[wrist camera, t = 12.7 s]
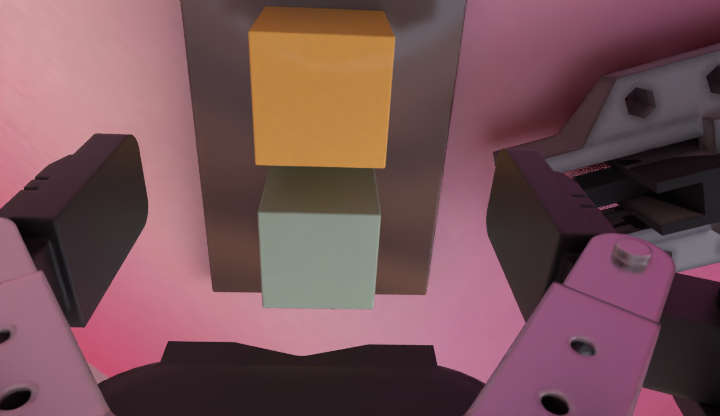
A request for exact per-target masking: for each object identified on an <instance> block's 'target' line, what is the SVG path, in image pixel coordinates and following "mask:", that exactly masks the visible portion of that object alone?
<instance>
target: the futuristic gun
mask: <svg viewBox="0 0 720 416" xmlns="http://www.w3.org/2000/svg"><path fill="white" fill-rule="evenodd" d="M627 96H628V100H627V101H625V98H626V97H627ZM507 149H529V150H537V151H538V152H539V153H540V154H541V155H542V157H543V158H544V159H545V161H546V162H547V163H548V164H549V166H550V167H551V168H552V170H553V171H556V172H560V173H563V172H567V171H570V170H574V169H578V168H582V167H586V166H589V165H593V164H597V163H601V162H604V163H606V164H608V165H609V166H611V167H610V168H606V169H602V170H598V171H594V172H590V173H587V174H583V175H579V176H575V177H574V178H573V179H572V180H573V181H575V182H577V183H578V185H579V186H580V187H581V188H582V189H583V191H584V192H585V193H586V194H587V198H590V199H591V200H592V202H593V203H594V204H595V205H596V208H597V207H601V206H605V205H609V204H613V203H617V204H619V205H620V206H616V207H613V208H609V209H605V210H601V213H602V214H603V215H604V216H605V218H606V219H607V220H608V221H609V222H610V224H611V225H612V226H613V227H614V229H615V230H616V231H617V232H618V233H619V234H625V235H630V236H634V237H637V238H640V239H643V240H646V241H648V242H650V243H652V244H654V245H656V246H658V247H660V248H661V249H662V250H664V251H665V252H666V253H667V254H669V255H670V257H671V258H672V259H673V260H674V262H675V265H676V272H675V273H677V272H681V271H685V270H689V269H693V268H698V267H702V266H706V265H710V264H714V263H719V262H720V43H717V44H714V45H710V46H706V47H703V48H699V49H696V50H692V51H689V52H685V53H681V54H678V55H674V56H671V57H667V58H664V59H660V60H656V61H653V62H649V63H646V64H642V65H639V66H635V67H631V68H628V69H624V70H621V71H617V72H614V73H610V74H606V75H603V76H601V77H600V79H599V80H598V81H597V83H596V84H595V85H594V87H593V88H592V89H591V91H590V92H589V93H588V95H587V96H586V97H585V99H584V100H583V101H582V103H581V104H580V105H579V107H578V108H577V109H576V111H575V112H574V114H573V115H572V116H571V118H570V119H569V120H568V122H567V123H566V124H565V126H564V127H563V128H562V130H561V131H560V132H559V134H558V135H555V136H551V137H547V138H544V139H540V140H536V141H532V142H529V143H525V144H521V145H518V146H514V147H510V148H507ZM500 151H501V150H499V151H496V152H493V156H494V161H495V166H496V163H497V159H498V156H499V153H500Z"/></svg>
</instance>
